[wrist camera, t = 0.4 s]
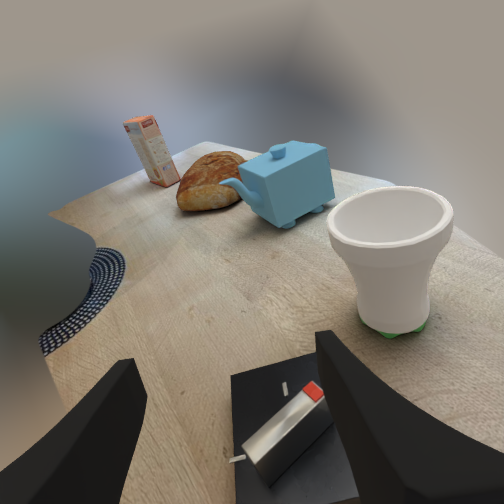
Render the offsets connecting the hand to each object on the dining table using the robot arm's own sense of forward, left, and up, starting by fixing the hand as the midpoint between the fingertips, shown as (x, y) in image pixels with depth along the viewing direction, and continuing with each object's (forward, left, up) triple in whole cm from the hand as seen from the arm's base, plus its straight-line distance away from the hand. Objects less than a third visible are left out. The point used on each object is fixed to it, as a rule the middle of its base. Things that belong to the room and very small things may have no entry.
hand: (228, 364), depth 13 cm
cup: (+19, -14, -21) cm, 32 cm away
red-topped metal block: (+6, 0, -18) cm, 19 cm away
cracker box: (+100, +26, -21) cm, 105 cm away
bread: (+72, +8, -21) cm, 75 cm away
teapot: (+51, -7, -21) cm, 55 cm away
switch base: (+8, 0, -21) cm, 23 cm away
